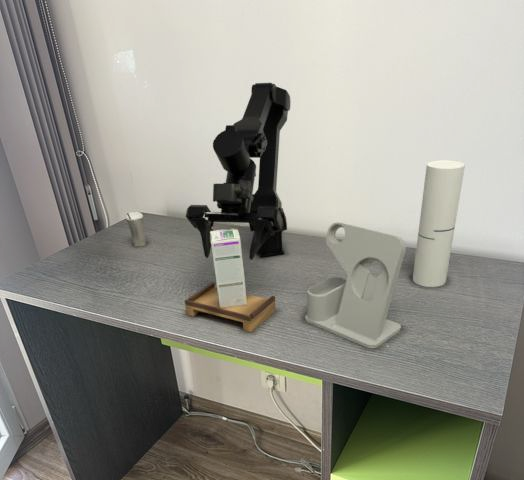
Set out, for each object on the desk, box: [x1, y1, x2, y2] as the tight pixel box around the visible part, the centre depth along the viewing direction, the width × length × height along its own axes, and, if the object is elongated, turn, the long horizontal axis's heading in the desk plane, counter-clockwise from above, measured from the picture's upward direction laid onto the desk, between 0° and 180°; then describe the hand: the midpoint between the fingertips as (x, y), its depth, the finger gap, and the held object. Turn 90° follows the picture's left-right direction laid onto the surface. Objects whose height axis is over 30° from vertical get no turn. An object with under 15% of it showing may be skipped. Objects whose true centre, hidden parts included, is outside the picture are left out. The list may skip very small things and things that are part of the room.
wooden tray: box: [184, 282, 277, 333], centre depth 102 cm, size 16×10×4 cm, turn 59°
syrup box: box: [210, 227, 247, 308], centre depth 98 cm, size 6×6×14 cm
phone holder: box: [304, 222, 407, 349], centre depth 92 cm, size 17×10×18 cm, turn 45°
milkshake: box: [125, 211, 147, 248], centre depth 137 cm, size 4×5×10 cm
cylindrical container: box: [412, 159, 466, 288], centre depth 104 cm, size 7×7×25 cm
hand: (228, 258), depth 97 cm, fingers open, 9 cm apart
